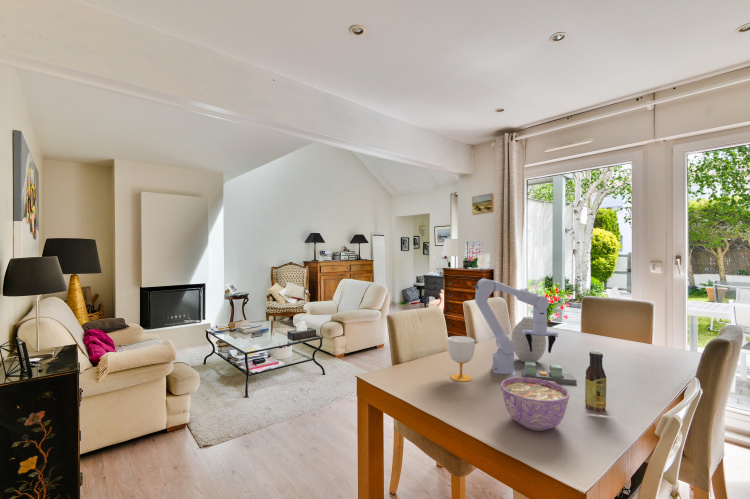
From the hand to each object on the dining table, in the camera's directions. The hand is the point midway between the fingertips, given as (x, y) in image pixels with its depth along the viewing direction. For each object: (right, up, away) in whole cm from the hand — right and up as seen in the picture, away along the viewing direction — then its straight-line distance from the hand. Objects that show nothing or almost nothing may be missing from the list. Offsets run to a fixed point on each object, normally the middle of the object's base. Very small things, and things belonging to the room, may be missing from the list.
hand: (540, 351), depth 161 cm
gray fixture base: (-1, -10, -9) cm, 13 cm away
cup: (-37, -10, -6) cm, 39 cm away
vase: (+3, -10, +18) cm, 21 cm away
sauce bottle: (+2, -10, -37) cm, 39 cm away
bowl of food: (-24, -10, -48) cm, 55 cm away
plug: (+2, -9, -10) cm, 14 cm away
